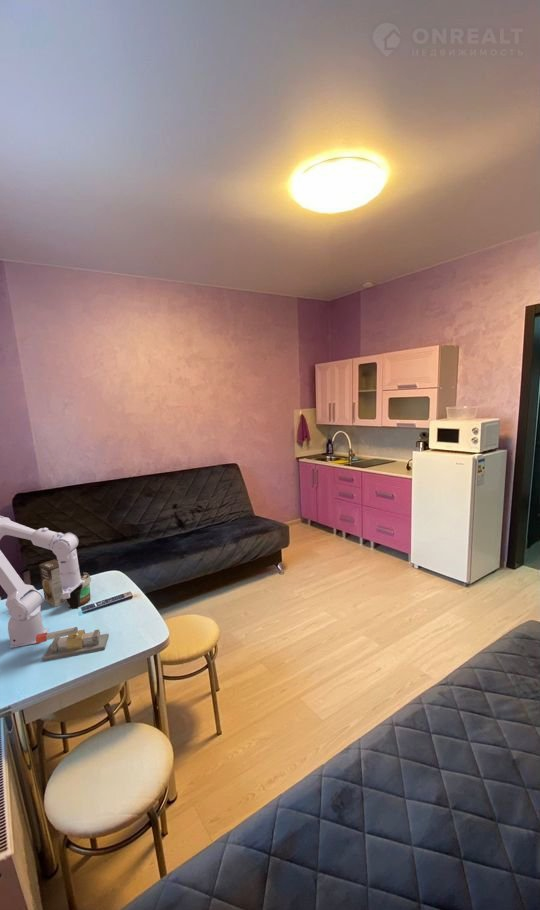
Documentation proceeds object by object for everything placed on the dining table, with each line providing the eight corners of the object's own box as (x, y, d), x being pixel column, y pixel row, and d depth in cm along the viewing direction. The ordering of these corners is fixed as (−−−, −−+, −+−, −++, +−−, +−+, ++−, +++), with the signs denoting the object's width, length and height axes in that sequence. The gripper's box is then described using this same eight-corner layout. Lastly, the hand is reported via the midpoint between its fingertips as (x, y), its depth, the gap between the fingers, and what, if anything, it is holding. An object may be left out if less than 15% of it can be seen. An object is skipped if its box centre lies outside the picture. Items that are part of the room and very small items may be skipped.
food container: (80, 611, 147) (76, 587, 145) (66, 610, 148) (62, 586, 147) (100, 594, 159) (97, 572, 157) (87, 594, 160) (84, 571, 158)
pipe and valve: (51, 654, 121) (49, 643, 120) (55, 646, 125) (54, 634, 125) (98, 645, 124) (97, 634, 123) (101, 637, 128) (99, 626, 128)
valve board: (43, 661, 119) (42, 658, 119) (50, 646, 126) (50, 644, 126) (104, 649, 123) (104, 646, 123) (108, 636, 130) (108, 633, 130)
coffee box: (44, 601, 156) (38, 564, 153) (60, 594, 161) (54, 558, 159) (55, 607, 151) (49, 569, 148) (71, 600, 156) (65, 562, 153)
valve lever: (78, 632, 125) (77, 625, 125) (77, 635, 123) (76, 629, 123) (38, 640, 122) (37, 634, 121) (36, 644, 120) (35, 638, 119)
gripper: (76, 578, 121) (82, 617, 123) (87, 559, 135) (92, 595, 137) (52, 581, 120) (59, 621, 122) (65, 562, 134) (71, 598, 136)
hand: (75, 608), depth 130 cm, fingers closed
